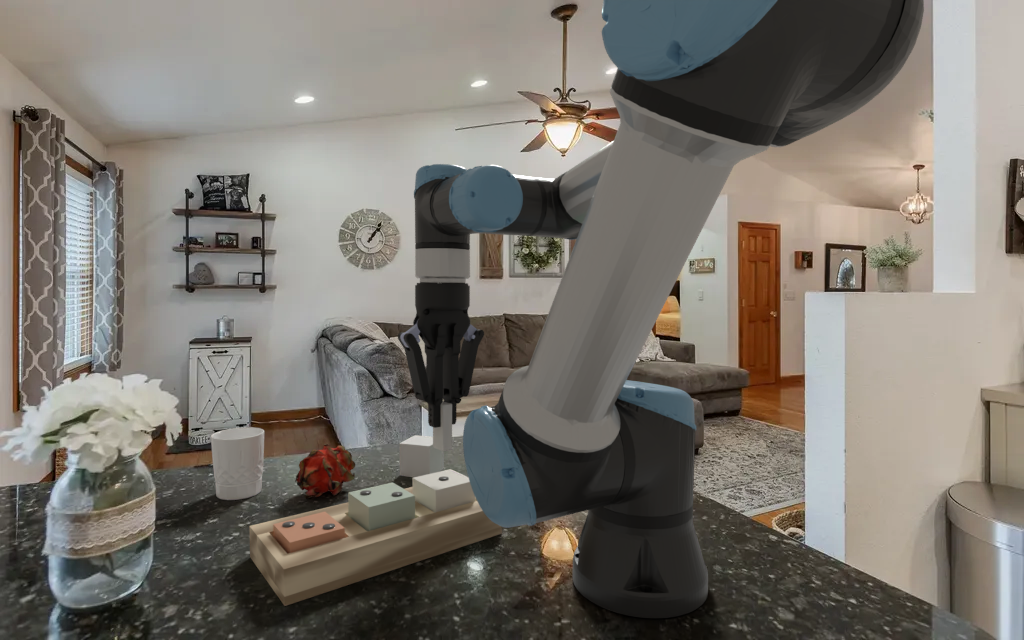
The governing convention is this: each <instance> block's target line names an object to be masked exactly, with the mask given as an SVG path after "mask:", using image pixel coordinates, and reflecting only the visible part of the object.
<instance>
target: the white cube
mask: <svg viewBox="0 0 1024 640" xmlns="http://www.w3.org/2000/svg"><path fill="white" fill-rule="evenodd" d="M398 445H399V451H398V452H399V476H400V477H409V478H414V477H418V476H423V475H427V474H431V473H436V472H440V471H444V469H445V464H444V463H445V462H444V461H445V460H444V459H445V455H444V454H445V451H444V452H443V451H440V450H438V449H436V448H434V447H433V436H430V435H429V436H426V435H418V434H415V435H413V436H411V437H409V438H407V439H405V440H403V441H402V442H399V443H398Z"/></svg>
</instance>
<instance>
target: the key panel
mask: <svg viewBox="0 0 1024 640" xmlns="http://www.w3.org/2000/svg"><path fill="white" fill-rule="evenodd" d="M404 489H405V490H406V491H408V492H410V493H411V494H413V486H410V487H407V488H404ZM321 512H326V513H328V514H329V515H330V516H331V517H332V518H333V519H335V520H336V521H337V522H338V523H339V524H341V525H342V526H343V527H344V528H345V538H342V539H339V540H335V541H332V542H328V543H324V544H321V545H317V546H314V547H310V548H306V549H303V550H299V551H296V552H292V553H289V554H287V553H286V551H285V550H284V549H283V548H282V547H281V546H280V544H279V543H278V542H277V541H276V540H275V539H274V537H273V524H276V523H280V522H284V521H288V520H292V519H296V518H301V517H305V516H309V515H313V514H317V513H321ZM502 530H503V527H502V526H499V525H498V524H495V523H494V522H492V521H491V520H490V519H489V518H488V517H487V516H486V515H485V513H484V512H483V510H482V509H481V507H480V505H479V504H478V502H477V500H476V497H475V502H471V503H468V504H464V505H460V506H457V507H453V508H450V509H446V510H442V511H439V512H433V511H431V510H430V509H428V508H426V507H425V506H423V505H421V504H420V503H418V502H416V501H415V518H414V519H410V520H407V521H403V522H400V523H396V524H392V525H389V526H385V527H382V528H378V529H374V530H371V531H366V530H365V529H364V528H362V527H361V526H360V525H359V524H357V523H356V522H355V521H354V520H352V519H351V518H350V517H349V516H348V501H347V502H344V503H339V504H336V505H331V506H327V507H323V508H319V509H315V510H314V509H313V510H310V511H306V512H301V513H298V514H297V513H296V514H294V515H288V516H286V517H281V518H277V519H272V520H268V521H264V522H260V523H257V524H252V525H249V558H250V559H251V561H252V562H253V563H254V565H255V566H256V567H257V569H258V570H259V572H260V573H261V574H262V576H263V577H264V578H263V579H265V580H266V581H267V583H268V585H269V586H270V588H271V589H272V591H273V592H274V594H275V595H276V596H277V597H278V598H279V600H280V601H281V603H282V605H283V606H284V607H285V606H286V607H287V606H289V605H292V604H295V603H298V602H301V601H304V600H307V599H310V598H313V597H317V596H320V595H323V594H325V593H328V592H331V591H334V590H337V589H340V588H343V587H346V586H348V585H352V584H355V583H358V582H361V581H365V580H368V579H370V578H373V577H376V576H379V575H382V574H385V573H388V572H391V571H394V570H397V569H400V568H403V567H406V566H409V565H411V564H415V563H418V562H420V561H424V560H427V559H430V558H433V557H437V556H439V555H442V554H445V553H448V552H451V551H454V550H457V549H460V548H463V547H466V546H469V545H472V544H475V543H478V542H480V541H483V540H484V541H485V540H487V539H490V538H494V537H497V536H499V535H503V531H502Z"/></svg>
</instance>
